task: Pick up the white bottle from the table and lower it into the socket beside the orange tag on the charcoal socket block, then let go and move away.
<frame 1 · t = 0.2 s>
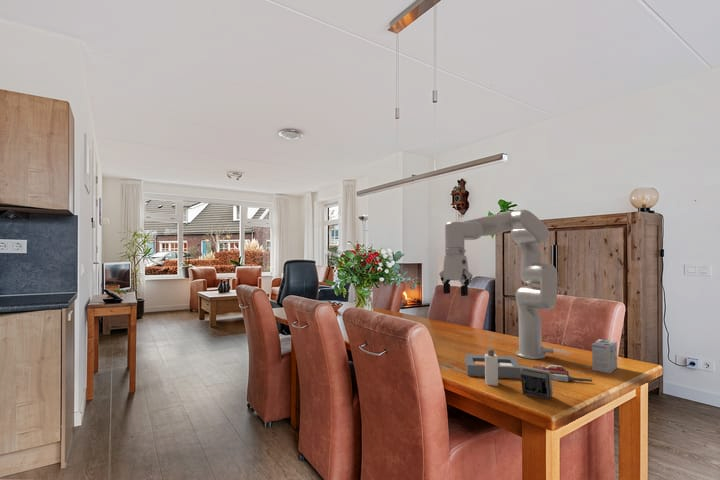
hand: (455, 294, 152), 31 cm above the table, tool pointing down, fingers open, 9 cm apart
electrical switch: (536, 396, 125), on the table
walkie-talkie: (559, 379, 142), on the table
socket block: (492, 370, 151), on the table
white bottle: (491, 383, 137), on the table
light bulb box: (605, 369, 152), on the table
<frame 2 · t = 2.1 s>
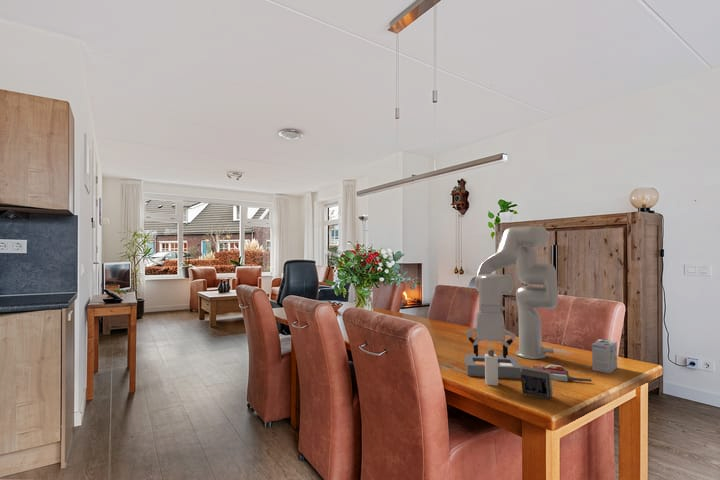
hand: (490, 356, 137), 10 cm above the table, tool pointing down, fingers open, 9 cm apart
nothing on the table moved.
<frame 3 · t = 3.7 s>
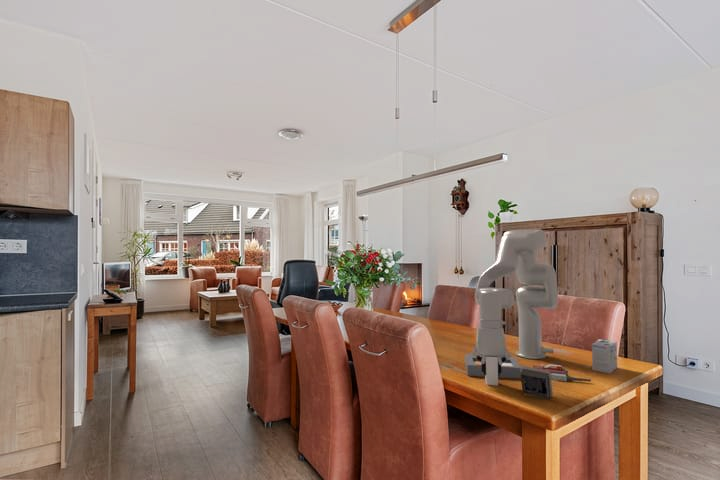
hand: (491, 373, 137), 3 cm above the table, tool pointing down, fingers closed on white bottle, 4 cm apart
white bottle: (491, 383, 137), on the table, touching gripper
everything else where it was.
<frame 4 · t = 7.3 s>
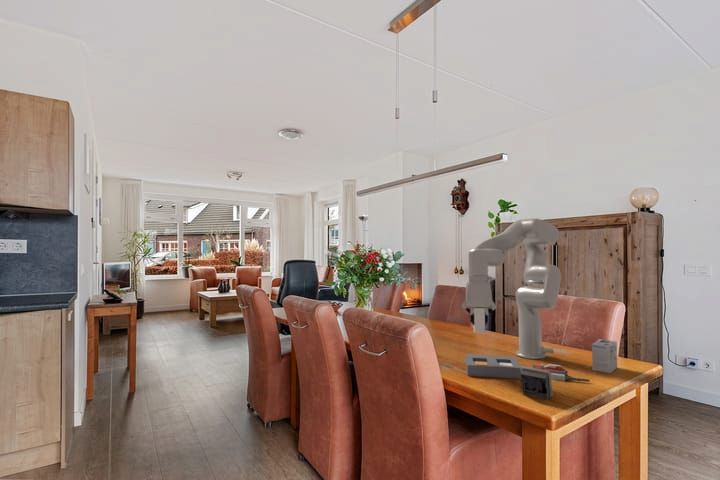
hand: (479, 324, 153), 19 cm above the table, tool pointing down, fingers closed on white bottle, 4 cm apart
white bottle: (479, 332, 153), point 15 cm above the table, touching gripper
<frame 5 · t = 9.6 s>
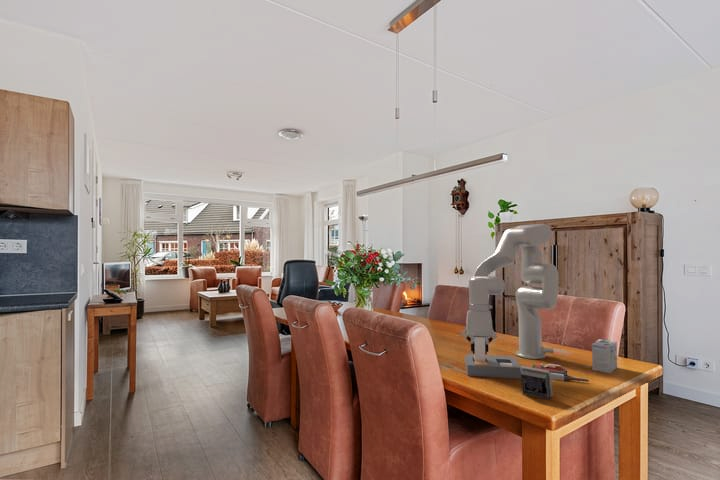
hand: (479, 352, 152), 7 cm above the table, tool pointing down, fingers closed on white bottle, 4 cm apart
white bottle: (479, 361, 152), point 4 cm above the table, touching gripper
when the fingers open (5 cm above the table, at t = 11.2 s): white bottle drops 2 cm, resting in socket block.
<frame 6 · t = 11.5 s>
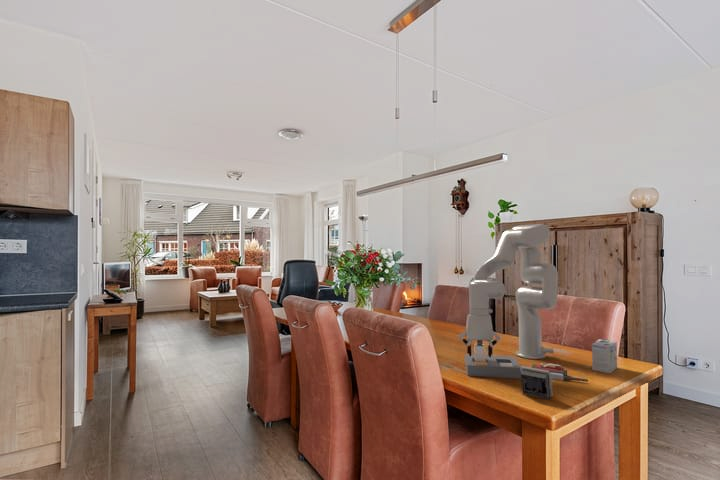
hand: (479, 355, 153), 6 cm above the table, tool pointing down, fingers open, 7 cm apart
white bottle: (480, 370, 152), resting in socket block
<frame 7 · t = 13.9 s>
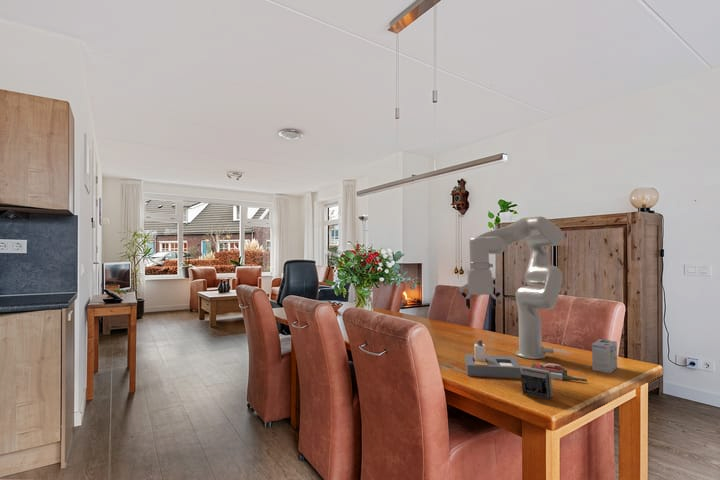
hand: (481, 308, 155), 25 cm above the table, tool pointing down, fingers open, 9 cm apart
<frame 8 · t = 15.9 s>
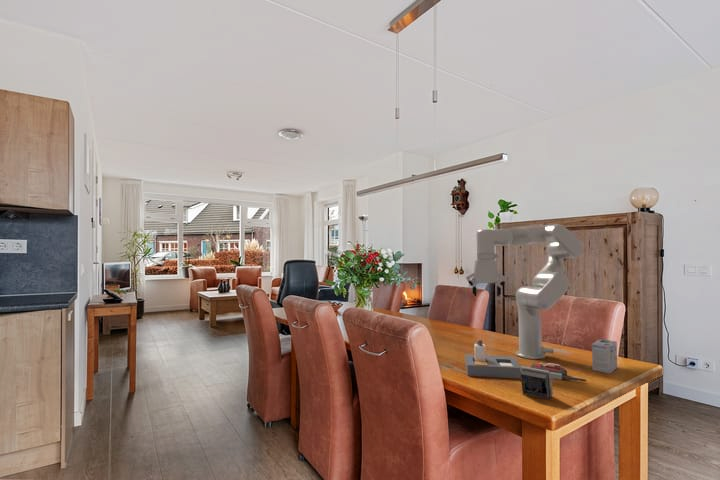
hand: (486, 296, 166), 28 cm above the table, tool pointing down, fingers open, 9 cm apart
at the end: white bottle 0.1 cm from the target spot on the socket block, point 0.0 cm above the socket block's base; white bottle tilted 0°; the gripper is holding nothing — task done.
